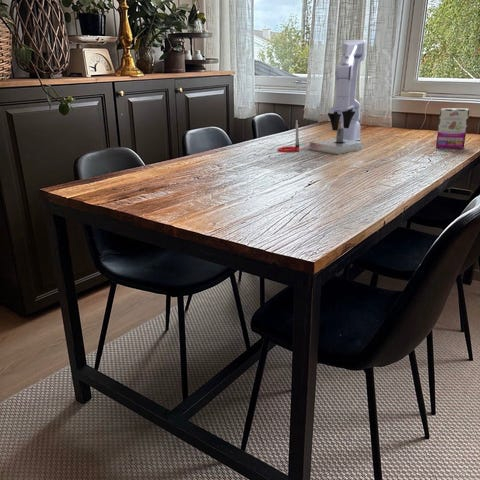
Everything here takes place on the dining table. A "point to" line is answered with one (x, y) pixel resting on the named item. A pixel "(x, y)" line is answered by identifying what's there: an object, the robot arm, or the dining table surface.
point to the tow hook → (295, 144)
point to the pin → (340, 136)
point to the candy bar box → (452, 128)
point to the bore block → (335, 146)
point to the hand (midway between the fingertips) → (340, 129)
